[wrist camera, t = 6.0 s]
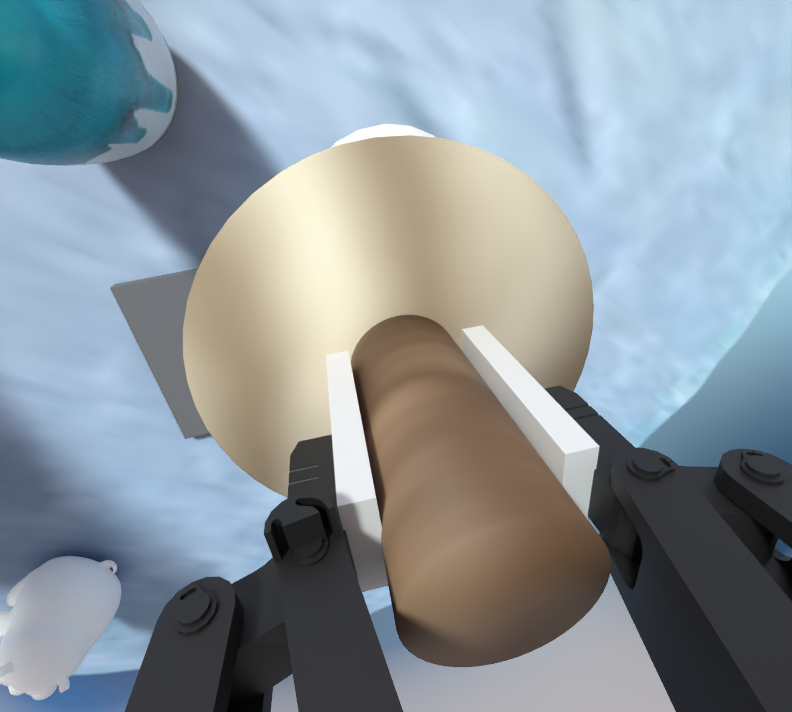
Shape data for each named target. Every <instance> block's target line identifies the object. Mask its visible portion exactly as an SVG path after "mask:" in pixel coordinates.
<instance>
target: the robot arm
mask: <svg viewBox="0 0 792 712" xmlns="http://www.w3.org/2000/svg"><path fill="white" fill-rule="evenodd" d="M462 347H463V353H464V355H465V356H466V357H467V359H468V360H469V361H470V363H471V364H472V365H473V367H474V368H475V369H476V371H477V372H478V373H479V375H480V376H481V377H482V379H483V380H484V381H485V383H486V384H487V385H488V387H489V388H490V389H491V391H492V392H493V393H494V395H495V396H496V398H497V399H498V400H499V402H500V403H501V404H502V406H503V407H504V408H505V410H506V411H507V412H508V414H509V415H510V416H511V418H512V419H513V420H514V422H515V423H516V424H517V426H518V427H519V428H520V430H521V431H522V432H523V434H524V435H525V436H526V438H527V439H528V440H529V442H530V443H531V444H532V446H533V447H534V449H535V450H536V451H537V453H538V454H539V455H540V457H541V458H542V459H543V461H544V462H545V463H546V465H547V466H548V467H549V469H550V470H551V471H552V473H553V474H554V475H555V477H556V478H557V479H558V481H559V482H560V483H561V485H562V486H563V487H564V489H565V490H566V491H567V493H568V494H569V495H570V497H571V498H572V500H573V501H574V502H575V504H576V505H577V506H578V508H579V509H580V510H581V512H582V513H583V514H584V516H585V517H586V518H587V520H589V518H590V520H591V521H592V522H593V524H594V525H595V526H596V528H597V529H598V530H599V532H600V534H599V536H600V537H601V538H602V540H603V541H604V543H605V545H606V546H607V548H608V551H609V554H610V560H611V569H610V573H611V575H612V577H613V580H614V582H615V584H616V586H617V588H618V590H619V592H620V594H621V596H622V599H623V600H624V603H625V605H626V607H627V609H628V611H629V613H630V615H631V618H632V620H633V622H634V624H635V626H636V628H637V630H638V632H639V635H640V637H641V639H642V641H643V643H644V645H645V647H646V649H647V651H648V654H649V656H650V658H651V660H652V662H653V664H654V666H655V668H656V670H657V673H658V675H659V677H660V679H661V681H662V683H663V685H664V687H665V689H666V691H667V694H668V696H669V698H670V700H671V702H672V704H673V706H674V708H675V711H676V712H792V558H791V557H788V556H785V555H784V554H782V553H781V552H779V551H778V550H777V549H776V547H777V545H778V543H779V541H780V539H781V540H782V541H783V542H784V543H786V544H787V545H788V546H790V547H791V548H792V465H791V464H789V463H787V462H785V461H783V460H782V459H780V458H778V457H776V456H774V455H771V454H767V453H764V452H761V451H756V450H749V449H735V450H730V451H728V452H726V453H724V454H723V455H722V458H721V461H720V464H719V467H687V466H678V465H677V464H676V463H675V462H674V461H673V460H672V459H670V458H669V457H667V456H665V455H663V454H661V453H659V452H657V451H653V450H649V449H645V448H635V447H634V446H633V445H632V444H631V443H630V442H629V441H627V440H626V439H625V438H624V437H623V436H622V435H621V434H620V433H619V432H618V431H617V430H616V429H615V428H613V427H612V426H611V425H610V424H609V423H608V422H607V421H606V420H605V419H604V418H603V417H602V416H601V415H598V413H597V412H596V411H595V410H594V409H593V408H592V407H591V406H588V403H586V402H585V401H584V400H583V399H582V398H581V397H580V396H579V395H578V394H577V393H575V392H573V391H571V390H569V389H566V388H564V387H562V386H560V385H559V386H554V387H550V388H545V389H544V388H543V387H542V386H541V385H540V384H539V383H538V382H537V381H536V380H535V379H534V378H533V377H532V376H531V375H530V374H529V373H528V372H527V371H526V370H525V369H524V368H523V367H522V365H521V364H520V363H519V362H518V361H517V360H516V359H515V358H514V357H513V356H512V355H511V354H510V353H509V352H508V351H507V350H506V349H505V348H504V347H503V346H502V345H501V344H500V343H499V342H498V341H497V340H496V339H495V337H494V336H493V335H492V334H491V333H490V332H489V331H488V330H487V329H486V328H485V327H484V326H483V325H482V326H476V327H471V328H466V329H462ZM326 366H327V379H328V392H329V405H330V418H331V431H332V435H327V436H322V437H317V438H313V439H308V440H303V441H299V442H298V443H297V445H296V447H295V448H294V450H293V452H292V453H291V455H290V467H289V471H290V473H289V485H288V498H287V499H286V500H285V501H283V502H281V503H280V504H279V505H278V506H277V507H276V508H275V509H274V510H273V511H271V513H270V515H269V517H268V519H267V520H266V522H265V529H264V536H265V538H266V541H267V543H268V546H269V548H270V551H271V553H272V556H273V558H272V559H270V560H269V561H268V562H267V563H266V564H265V565H264V566H262V567H261V568H259V569H258V570H256V571H255V572H253V573H251V574H249V575H247V576H246V577H244V578H242V579H240V580H238V581H236V582H234V583H233V584H230V582H229V581H227V580H225V579H223V578H221V577H206V578H203V579H200V580H197V581H195V582H192V583H190V584H189V585H188V586H186V587H185V588H183V589H182V590H180V591H179V592H177V594H176V595H175V596H174V597H173V598H172V599H171V600H170V601H169V602H168V603H167V604H166V606H165V607H164V609H163V611H162V613H161V615H160V617H159V619H158V620H157V623H156V626H155V629H154V632H153V634H152V637H151V640H150V643H149V645H148V648H147V651H146V654H145V657H144V659H143V662H142V665H141V668H140V670H139V673H138V676H137V679H136V682H135V685H134V687H133V690H132V693H131V696H130V698H129V701H128V704H127V707H126V710H125V712H270V711H271V701H272V692H273V686H275V685H276V684H278V683H279V682H280V681H282V680H283V679H285V678H286V677H288V676H289V675H291V674H292V673H293V678H294V684H295V690H296V697H297V703H298V709H299V712H403V710H402V707H401V704H400V701H399V698H398V696H397V692H396V690H395V687H394V684H393V681H392V678H391V675H390V673H389V669H388V666H387V664H386V661H385V658H384V655H383V652H382V649H381V646H380V643H379V640H378V638H377V635H376V632H375V629H374V626H373V623H372V620H371V617H370V614H369V611H368V609H367V606H366V603H365V600H364V597H363V594H362V592H364V591H368V590H372V589H376V588H380V587H384V586H388V579H387V574H386V568H385V563H384V557H383V552H382V545H381V532H382V526H381V521H380V515H379V510H378V505H377V499H376V494H375V489H374V484H373V478H372V473H371V468H370V462H369V457H368V452H367V447H366V441H365V436H364V431H363V425H362V420H361V415H360V410H359V404H358V399H357V394H356V388H355V383H354V378H353V373H352V367H351V362H350V357H349V352H348V351H344V352H338V353H333V354H328V355H326Z"/></svg>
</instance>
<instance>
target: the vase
mask: <svg viewBox="0 0 792 712" xmlns="http://www.w3.org/2000/svg"><path fill="white" fill-rule="evenodd" d="M177 98H178V82H177V75H176V69H175V65H174V62H173V58H172V55H171V52H170V50H169V47H168V45H167V43H166V41H165V38H164V37H163V35H162V33H161V31H160V30H159V28H158V26H157V25H156V23H155V21H154V20H153V18H152V17H151V15H150V14H149V13H148V11H147V10H146V9H145V7H144V6H143V5H142V3H141V2H140V1H139V0H0V158H1V159H7V160H12V161H18V162H24V163H30V164H41V165H86V164H96V163H105V162H111V161H116V160H119V159H123V158H126V157H129V156H133V155H136V154H138V153H140V152H142V151H144V150H146V149H148V148H149V147H151V146H152V145H153V144H154V143H156V142H157V141H158V140H159V139H160V138H161V137H162V136H163V135H164V133H165V132H166V131H167V129H168V127H169V125H170V124H171V122H172V120H173V117H174V113H175V110H176V105H177Z"/></svg>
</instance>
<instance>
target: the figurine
mask: <svg viewBox="0 0 792 712" xmlns="http://www.w3.org/2000/svg"><path fill="white" fill-rule="evenodd" d="M110 567H112V568H113V572H112V571H111V570H110ZM116 571H117V565H116V563H115V562H114V561H112V560H104V561H102V562H97V561H94V560H92V559H88V558H84V557H78V556H63V557H57V558H54V559H51V560H49V561H47V562H45V563H44V564H43V565H41V566H40V567H38V568H36V569H34V570H33V571H32V572H30V573H29V574H28V575H27V576H25V577H24V578H23V579H22V580H20V581H19V582H18V583H17V584H16V585H15V586H14V587H13V588H12V589H11V590H10V592H9V593H8V596H7V604H8V605H9V606H12V607H13V608H12V609H11V610H1V611H0V637H3V639H2V642H1V646H0V684H4V685H5V686H8V687H9V691H10V693H11V694H13V695H20V694H23V693H26V694H28V695H31V696H32V698H34V699H36V700H42V699H45V698H47V697H49V696H50V695H51V694H52V693H53V692H54V691H55V689H56V687H57V685H59V690H60V692H61V693H62V692H63V691H65V690H67V689H69V679H68V677H69V676H71V675H72V674H73V673H74V672H75V671H76V670H77V669H78V667H79V666H80V665H81V663H82V661H83V660H84V658H85V656H86V654H87V653H88V651H89V650H90V649H91V647H92V646H93V645H94V644H95V643H96V642H97V641H98V640H99V639H100V638H101V636H102V635H103V634H104V632H105V631H106V629H107V628H108V626H109V624H110V623H111V621H112V619H113V617H114V615H115V614H116V611H117V609H118V607H119V604H120V600H121V592H122V590H121V584H120V581H119V579H118V578H117V576H116V575H115V574H114V573H115V572H116Z"/></svg>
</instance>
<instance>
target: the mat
mask: <svg viewBox="0 0 792 712" xmlns="http://www.w3.org/2000/svg"><path fill="white" fill-rule="evenodd" d="M197 270H198V269H193V270H188V271H183V272H178V273H172V274H167V275H162V276H157V277H152V278H146V279H141V280H136V281H131V282H125V283H120V284H115V285H114V286H112V287H111V288H110V289H111V291H112V293H113V295H114V297H115V299H116V301H117V303H118V305H119V307H120V309H121V311H122V313H123V315H124V317H125V319H126V321H127V323H128V325H129V327H130V329H131V331H132V333H133V335H134V337H135V339H136V341H137V343H138V345H139V347H140V349H141V351H142V353H143V355H144V357H145V359H146V361H147V363H148V365H149V367H150V369H151V371H152V373H153V375H154V377H155V379H156V381H157V383H158V385H159V387H160V389H161V391H162V393H163V395H164V397H165V399H166V401H167V403H168V405H169V407H170V409H171V411H172V413H173V415H174V417H175V419H176V421H177V423H178V425H179V427H180V429H181V432H182V434H183V436H184V438H185V439H187V438H191V437H196V436H200V435H204V434H208V433H210V432H209V431H208V430H207V428H206V426H205V424H204V422H203V420H202V418H201V416H200V414H199V412H198V410H197V409H196V407H195V404H194V401H193V398H192V395H191V392H190V389H189V386H188V383H187V377H186V371H185V365H184V359H183V325H184V318H185V312H186V305H187V300H188V297H189V293H190V290H191V287H192V284H193V281H194V278H195V275H196V272H197Z"/></svg>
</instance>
